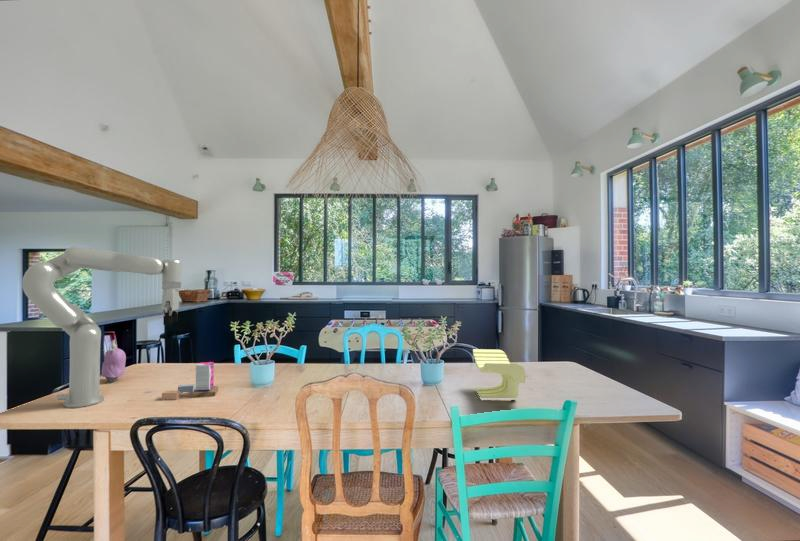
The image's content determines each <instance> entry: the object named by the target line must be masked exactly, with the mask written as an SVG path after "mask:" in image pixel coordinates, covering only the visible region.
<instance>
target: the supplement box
mask: <svg viewBox="0 0 800 541" xmlns="http://www.w3.org/2000/svg"><path fill="white" fill-rule="evenodd" d="M214 363H215V362H214V361H208V362H206V361H205V362H199V363H198V364H196V365H195V389H196V392H198V391H209V390H210V389H211V388H213V386H214V377H215V376H214V372H215V370H214V368H215V367H214V366H215V365H214Z"/></svg>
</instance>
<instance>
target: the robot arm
mask: <svg viewBox="0 0 800 541" xmlns="http://www.w3.org/2000/svg"><path fill="white" fill-rule="evenodd" d="M81 269H89V270H96V271H97V270H98V271H106V272H113V273H115V272H116V273H117V272H118V273H119V272H121V273H122V272H123V273H124V272H125V273H135V274H143V275H144V274H145V275H149V276H156V275H161V290H163V291H162V296H161V306H160V307H161V312H163V326H169V325H170V326H171V325H173V323H178V322H179V320H178V319H179V313H178V312H179V311H178V310H179V307H180V305H179V304H180V293H179V290H181V289H182V261H181V259H175V258H165V259H159V258H156V257H152V256H147V255H146V256H144V255H140V254H132V253H131V254H129V253H124V252H120V251H114V250H105V249H98V248H92V247H84V246H76V245H75V246H70V247H67V248H66V249H65V250H64V252H62V253H61V254H59V255H57V256H55V257H53V258H51V259H49V260H47V261H39V262H36V263H34V264H32V265H30V267H29V268H28V269H27V270H26V271H25V272H24V275H23V277H22V281H21V285H22V291H23V293H24V294H25V296H26V297H27V299H29V301H31V303H32V304H34V305H35V307H37V309H38V310H39V311H40V312H41V313H42V314H43V315H44V316H45V317H46V318H47V319H48V320H49V322H51V323H52V325H54V326H55V327H57V328H61V329H62V330H63V331H64V332H65V333H66V334H67V335H68V336H69V377H68V379H69V383H68V384H69V385H68V388H69V389H68V393H60V394H58V393H57V396H56V399H57V401H65V402H63V407H64V408H68V409H69V408H75V409H76V408H82V407H84V408H85V407H88V406H89V407H90V406H93V405H97V404H99V403H101V402H103V401H104V400H105V397H104V396H103V395H100V382H101V380H100V378H101V374H100V372H101V340H102V329H101V328H100V327H99V325H98V324H97V323H96V322H95V321H94V319H92V318H91V316H89V315H88V314H87V313H86V312H85V311H84V310H83V309H82V308H81V307H79V306H78V305H77V304H74V303H71V302H70V301H69V300H67V298H66V297H65V296H64V295H63V294H62V293H61V292H60V291H59V290H58V289H57V288H56V287H55V286H54V283H55V282H58V281H59V280H61V279H63V278H65V277H67V276H69V275H71V274H73V273H75V272H76V271H79V270H81Z"/></svg>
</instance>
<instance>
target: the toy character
mask: <svg viewBox="0 0 800 541" xmlns="http://www.w3.org/2000/svg"><path fill="white" fill-rule="evenodd" d="M126 355H127V354H126V352H125V351H124V350H123V349H121V348H118V345H117V344H116V340H115V339H112V340H111V347H110V349H108V350H107V351H105V355H104V357H103V360H104V361H103V362H102V367H101V369H100V375H101V376H102V377H103V378H104V377H105V379H106V380H107V381H108V382H109V383H114V382H115V381H116V380H117V379H118V378H122V376H124V375H125V371H126V363H127V362H126V361H127V356H126Z"/></svg>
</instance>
